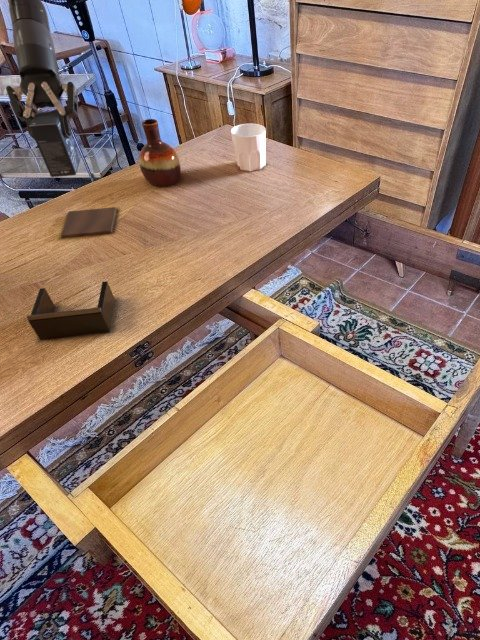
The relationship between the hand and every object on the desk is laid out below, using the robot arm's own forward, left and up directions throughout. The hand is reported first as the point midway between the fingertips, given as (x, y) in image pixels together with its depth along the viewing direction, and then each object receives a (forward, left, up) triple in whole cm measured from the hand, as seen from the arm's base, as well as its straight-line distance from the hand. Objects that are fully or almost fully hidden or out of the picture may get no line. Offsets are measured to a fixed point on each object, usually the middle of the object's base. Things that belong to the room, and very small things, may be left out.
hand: (51, 137), depth 95 cm
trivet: (0, +3, -21) cm, 22 cm away
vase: (+18, +24, -22) cm, 37 cm away
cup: (+44, +29, -22) cm, 57 cm away
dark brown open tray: (+3, -35, -21) cm, 41 cm away
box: (0, +2, -7) cm, 8 cm away
